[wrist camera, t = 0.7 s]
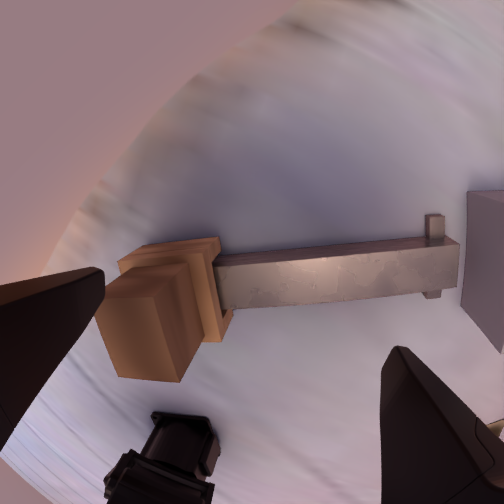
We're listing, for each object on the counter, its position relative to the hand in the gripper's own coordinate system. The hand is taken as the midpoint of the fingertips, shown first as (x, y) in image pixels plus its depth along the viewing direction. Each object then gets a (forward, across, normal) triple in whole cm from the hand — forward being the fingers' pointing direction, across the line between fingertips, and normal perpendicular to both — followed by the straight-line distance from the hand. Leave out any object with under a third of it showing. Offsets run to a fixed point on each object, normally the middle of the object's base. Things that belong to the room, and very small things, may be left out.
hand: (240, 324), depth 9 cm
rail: (+13, -2, +4) cm, 14 cm away
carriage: (+13, +6, +6) cm, 15 cm away
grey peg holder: (+14, -16, -1) cm, 21 cm away
